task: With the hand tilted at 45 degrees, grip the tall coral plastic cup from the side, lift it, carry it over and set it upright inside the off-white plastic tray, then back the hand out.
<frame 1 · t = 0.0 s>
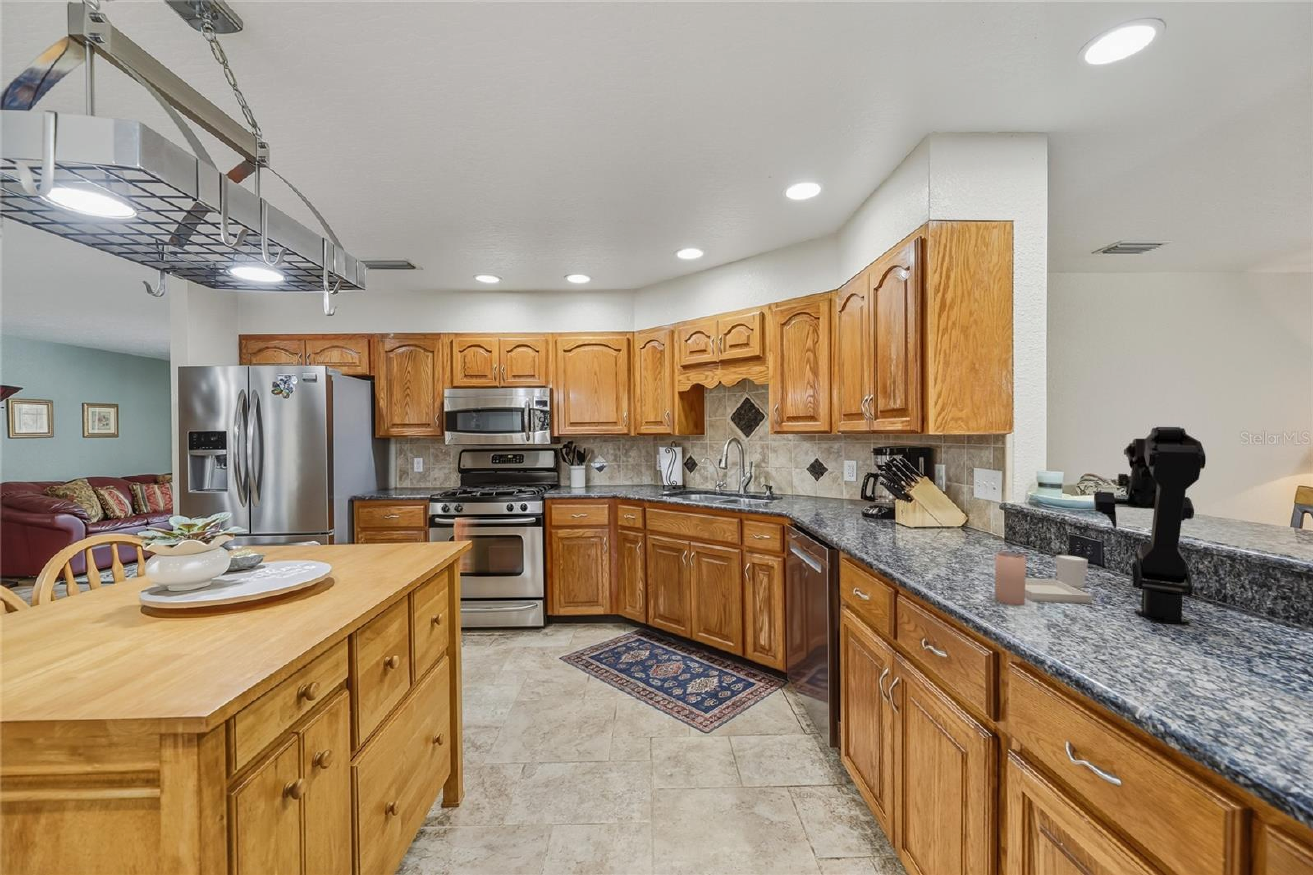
hand: (1137, 529, 141), 15 cm above the worktop, tool tilted 35°, fingers open, 9 cm apart
white short cylinder: (1070, 584, 142), on the worktop
deep cup: (1009, 601, 127), on the worktop
tray: (1044, 594, 132), on the worktop
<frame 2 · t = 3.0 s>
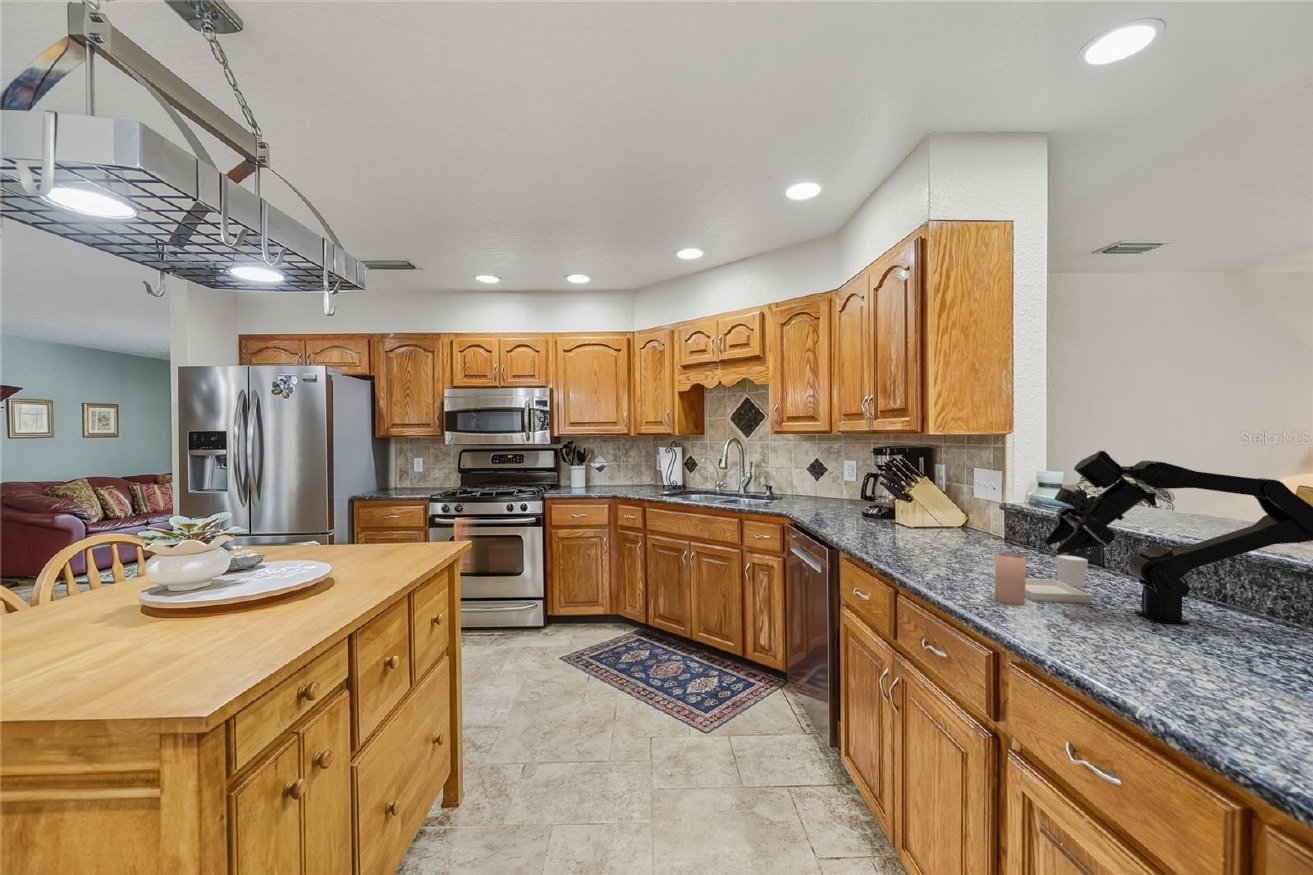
hand: (1051, 547, 123), 14 cm above the worktop, tool tilted 45°, fingers open, 9 cm apart
nothing on the worktop moved.
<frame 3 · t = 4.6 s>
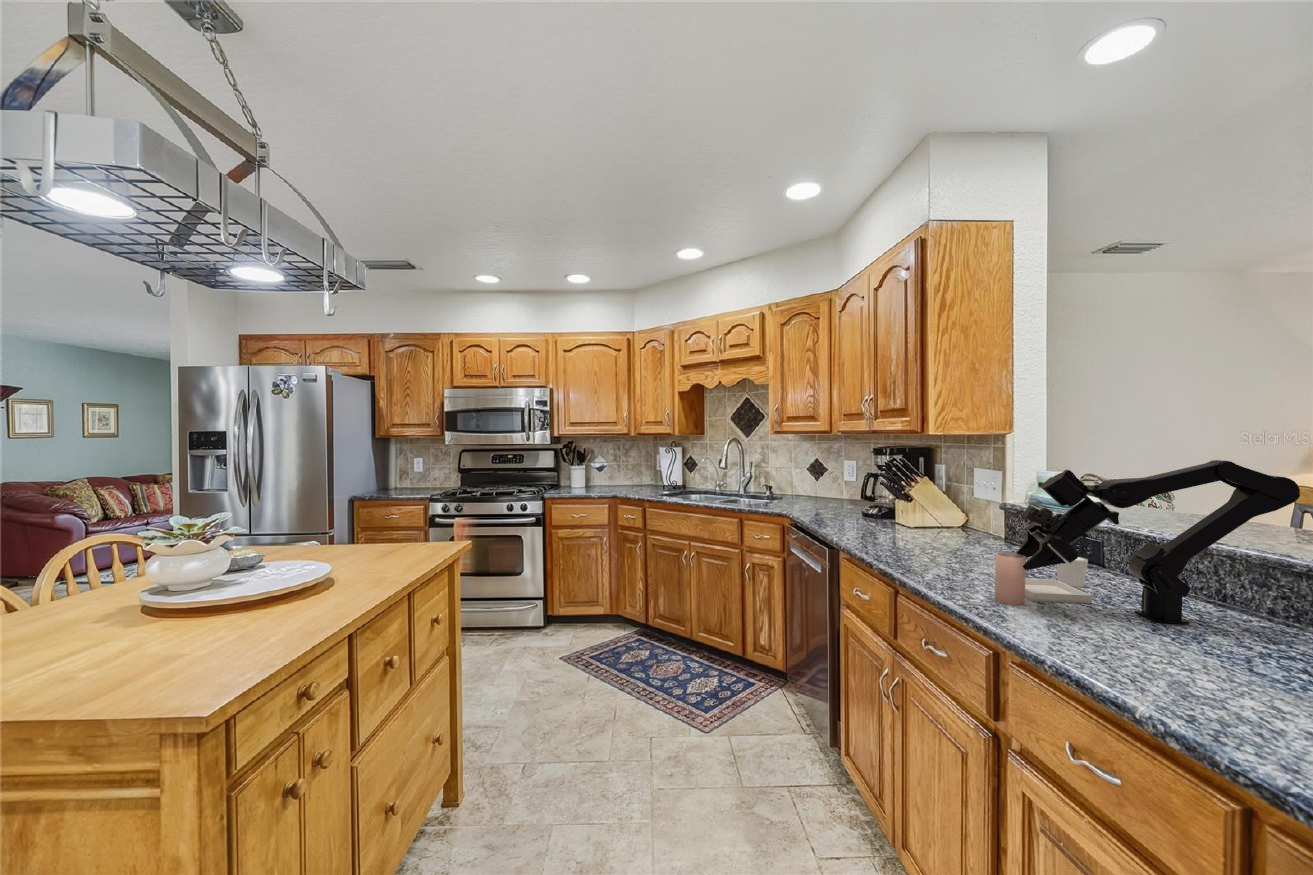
hand: (1018, 563, 126), 9 cm above the worktop, tool tilted 45°, fingers open, 9 cm apart
nothing on the worktop moved.
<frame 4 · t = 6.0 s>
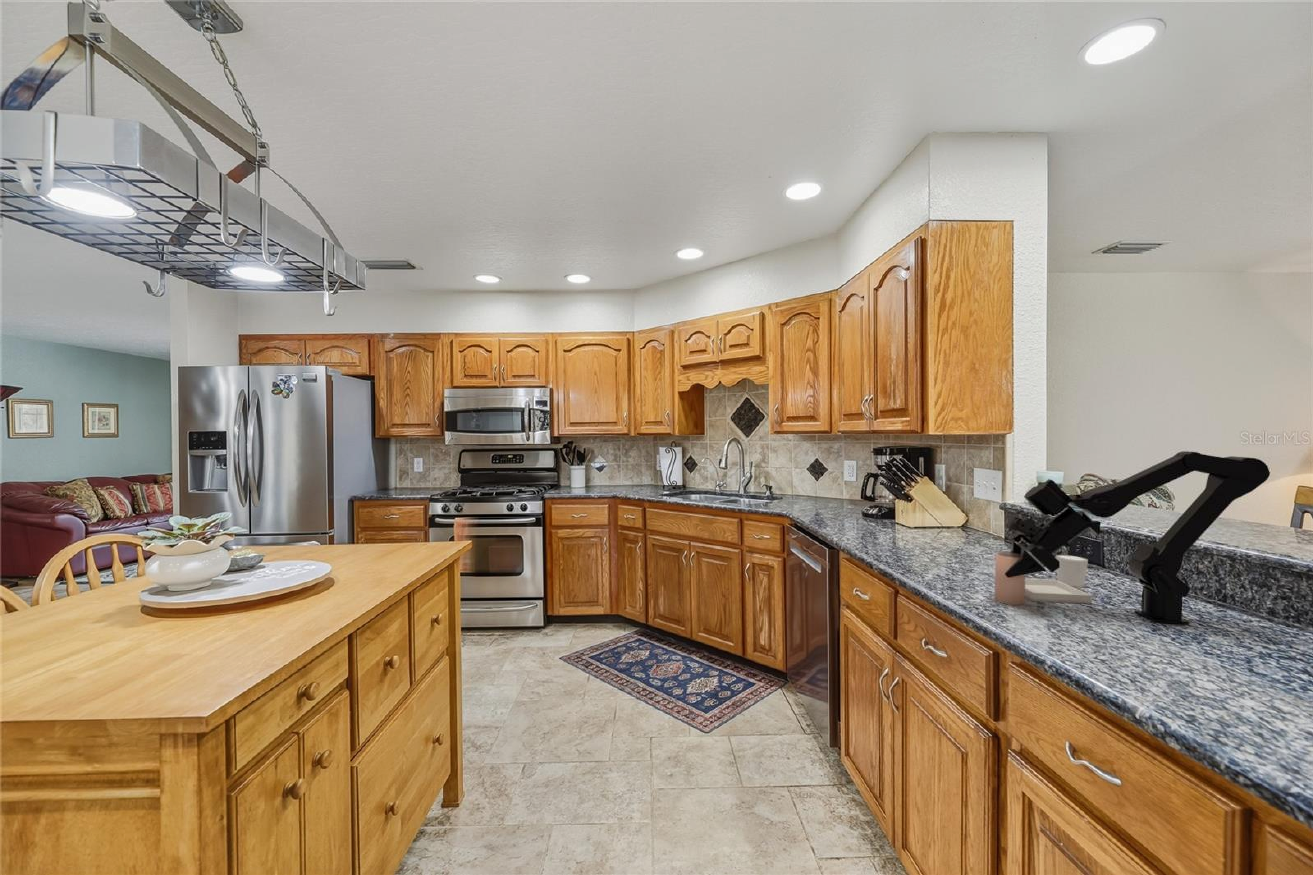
hand: (1003, 572, 127), 7 cm above the worktop, tool tilted 45°, fingers closed on deep cup, 6 cm apart
deep cup: (1009, 601, 127), on the worktop, touching gripper
everything else where it was.
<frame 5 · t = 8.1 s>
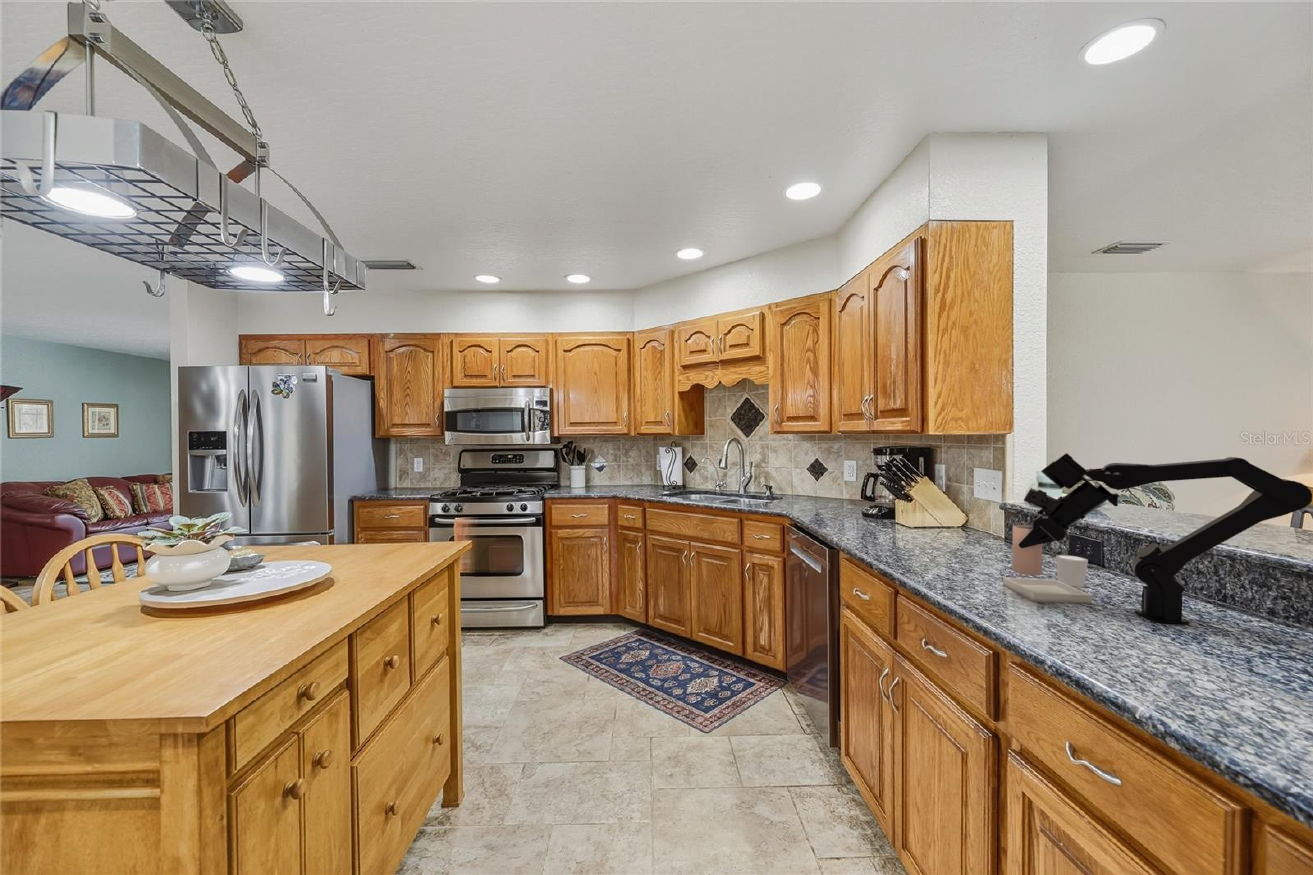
hand: (1020, 544, 131), 13 cm above the worktop, tool tilted 45°, fingers closed on deep cup, 6 cm apart
deep cup: (1026, 572, 130), point 6 cm above the worktop, touching gripper
everything else where it was.
when the fingers open (8 cm above the worktop, at t = 10.1 s): deep cup drops 1 cm, resting on tray.
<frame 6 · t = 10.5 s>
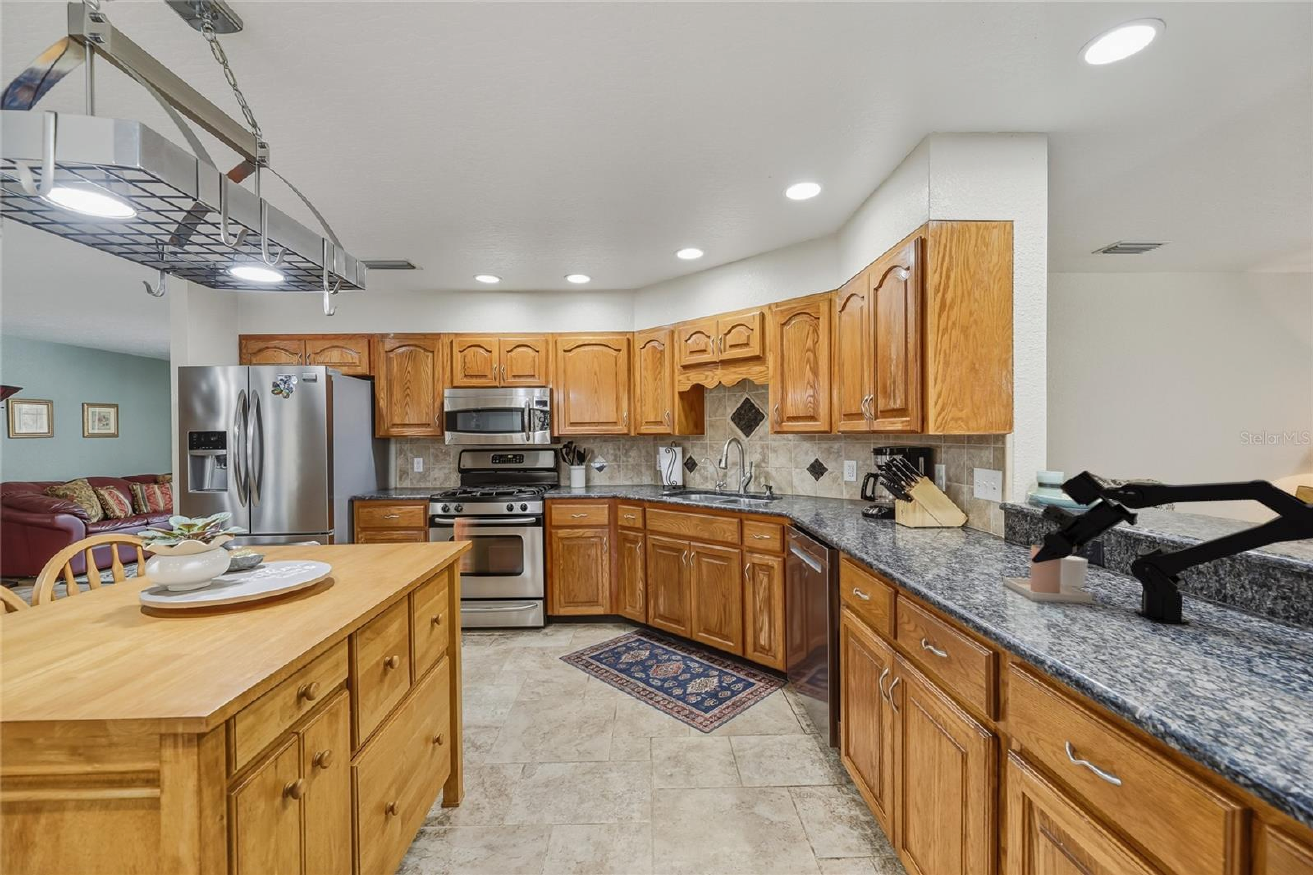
hand: (1039, 558, 133), 9 cm above the worktop, tool tilted 45°, fingers open, 9 cm apart
deep cup: (1045, 591, 132), point 1 cm above the worktop, touching tray
everything else where it was.
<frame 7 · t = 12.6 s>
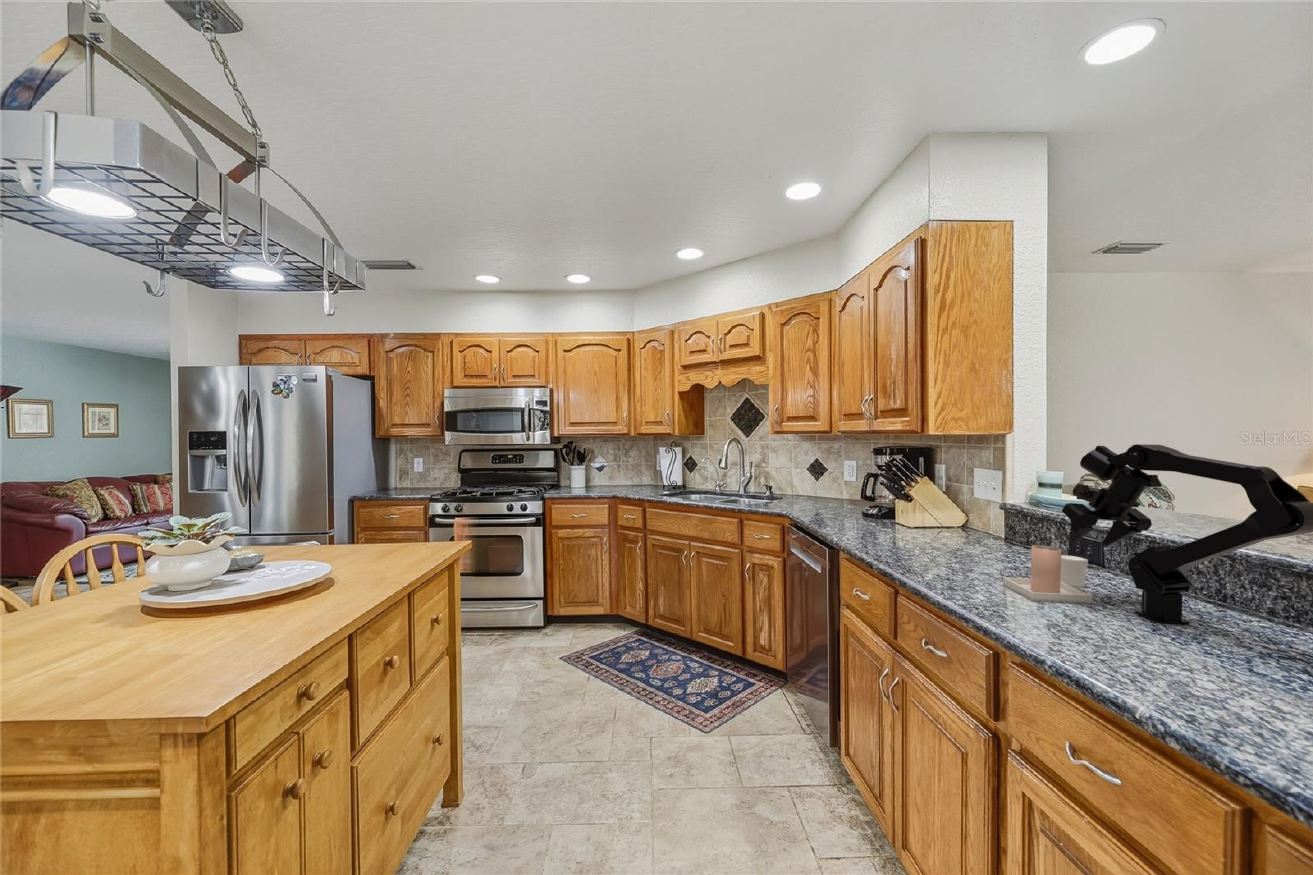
hand: (1088, 543, 131), 13 cm above the worktop, tool tilted 30°, fingers open, 9 cm apart
nothing on the worktop moved.
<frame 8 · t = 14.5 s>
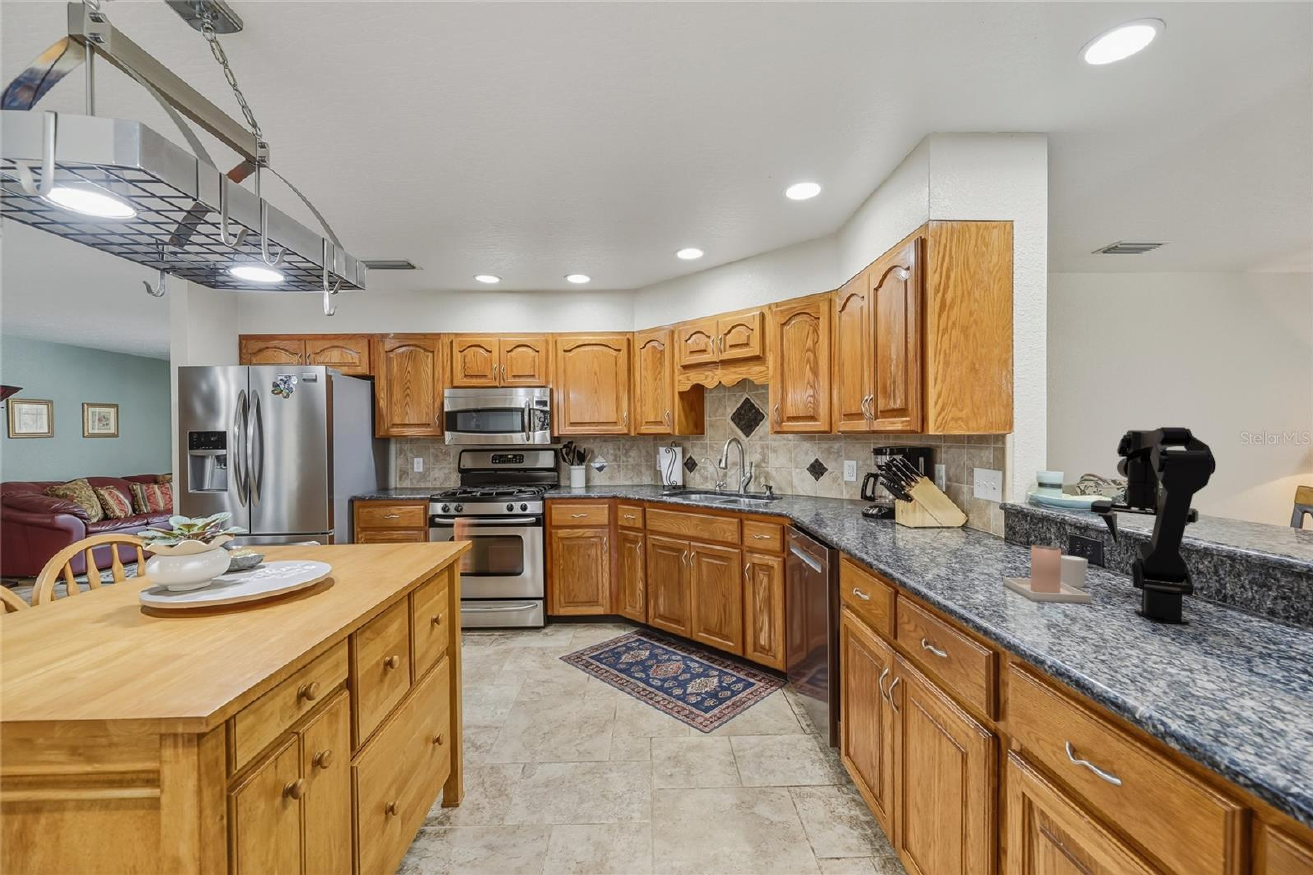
hand: (1141, 546, 129), 13 cm above the worktop, tool pointing down, fingers open, 9 cm apart
nothing on the worktop moved.
at the end: deep cup inside the target area on the tray (0.1 cm from its centre), point 0.6 cm above the tray's base; deep cup tilted 0°; the gripper is holding nothing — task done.
